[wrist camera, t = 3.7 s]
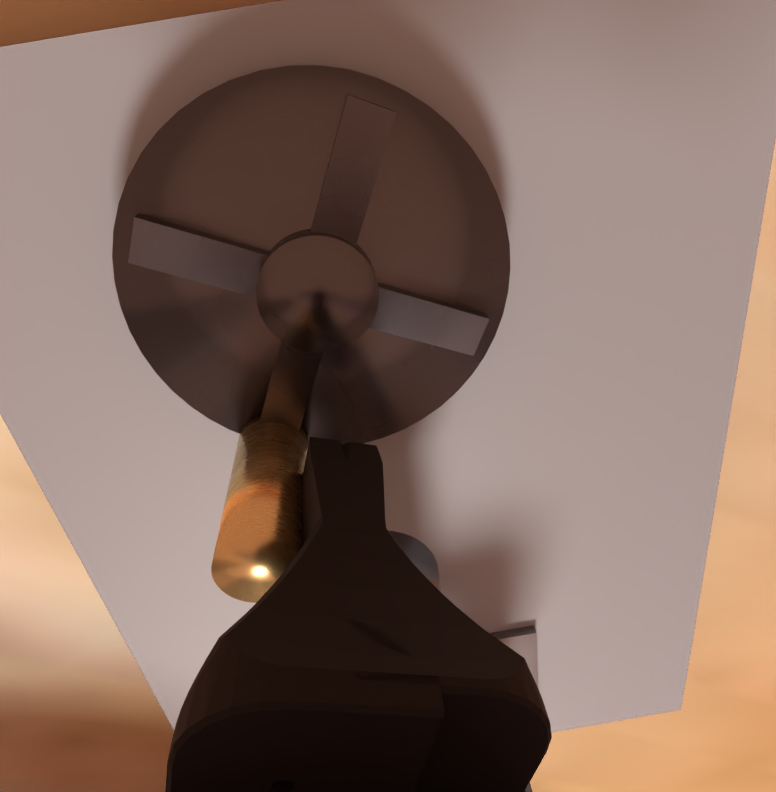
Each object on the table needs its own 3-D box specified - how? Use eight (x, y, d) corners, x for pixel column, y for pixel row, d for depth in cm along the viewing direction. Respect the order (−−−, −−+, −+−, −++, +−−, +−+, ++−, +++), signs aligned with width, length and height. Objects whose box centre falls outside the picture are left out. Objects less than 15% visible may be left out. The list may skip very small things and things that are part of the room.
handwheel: (562, 146, 12) (684, 195, 8) (416, 483, 16) (448, 632, 12) (153, -6, 11) (43, -41, 6) (99, 416, 14) (10, 565, 10)
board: (770, -76, 12) (812, -88, 11) (665, 681, 24) (681, 709, 23) (-141, 74, 12) (-185, 77, 11) (213, 761, 24) (208, 793, 23)
